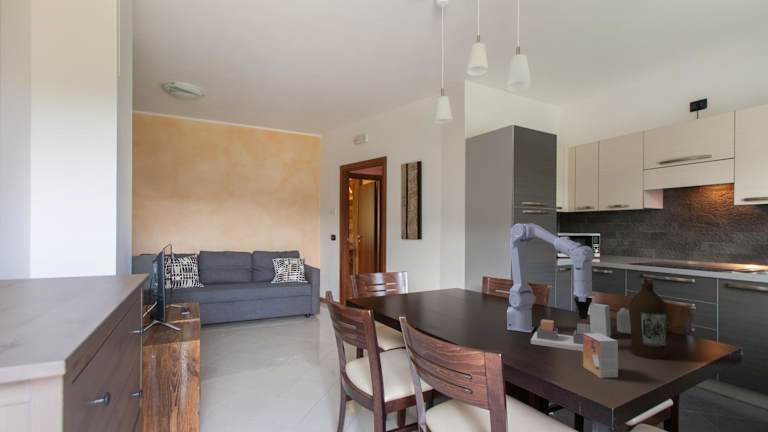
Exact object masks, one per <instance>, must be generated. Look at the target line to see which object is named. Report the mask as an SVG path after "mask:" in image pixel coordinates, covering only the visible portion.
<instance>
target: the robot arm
mask: <svg viewBox="0 0 768 432" xmlns="http://www.w3.org/2000/svg"><path fill="white" fill-rule="evenodd" d="M535 238H538V239H541V240H543V241H545V242H547V243H548V244H551V245H553V246H554V250H555V251H558V252H559V253H561V254H563V255H565V256H567V257H569V258H570V260H571V261H572V266H573V295H574V296H576V297H574V298H573V301H574V303H575V305H576V307H577V311H578V316H579V319H580V320H587V319H588V316H589V311H590V309H589V306H590V304H592V302H593V298H592V296H595V297H596V296H597V293H596V292H593V277H592V275H593V271H592V270H593V269H592V268H593V267H592V261H593V260H594V258H595V256H596V255H595V250H594V249H592V248H591V247H590V246H588V245H582V243H580V242H576V241H573V240H571V238H570V236H560V237H559V236H557V235H555V234H553V233H551V232H550V231H548V230H546V229H545V228H543V227H541V226H540V225H537V224H535V223H531V222H530V223H515V224H514V225H513V226H512V227H511V228H510V239H509V251H510V260H511V261H510V263H511V270H512V272H511V273H512V280H513V285H512V287H511V288H510V289H509V297H508V302H509V304H510V306H508V307H507V310H506V311H507V312H506V320H507V321H506V323H507V326H506V327H507V328H506V329H507V330H508V331H515V332H516V331H517V332H522V333H528V334H529V333H533V330H534V329H535V326H532V325H533V323H532V322H533V321H532V319H533V318H532V315H533V314H532V308H533V305H534V304H535V302H536V296H535V294H534V292H533V288H532V286H530V285H529V284H528V283H529V282H528V274H527V267H526V255H525V246H526V245H527V243H528V242H530V241H532V240H533V239H535Z"/></svg>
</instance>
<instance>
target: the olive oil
mask: <svg viewBox="0 0 768 432" xmlns="http://www.w3.org/2000/svg"><path fill="white" fill-rule="evenodd" d="M653 282H654V280H653V279H651V278H641V283H640V291H639V292H637V293H636V294H635V295H634V296H633V297H632V298H631V299H630V301H629V304H628V310H629V315H630V327H631V334H630V341H631V342H630V343H631V352H632V353H633V354H634V355H636V356H639V357H642V358H647V359H653V360H662V359H666V358H667V347H668V345H667V339H668V338H667V337H668V307H667V304H666V302H665V301H664V300H663V298H661V297H660V296H659V294H657V293H656V292H655V290H654V283H653Z"/></svg>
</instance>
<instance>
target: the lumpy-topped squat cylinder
mask: <svg viewBox="0 0 768 432" xmlns="http://www.w3.org/2000/svg"><path fill="white" fill-rule="evenodd" d="M616 331H617V332H619V333H623V334H629V335H631V327H630V315H629V309H627V308H625V307H622V308H621V307H620V309H619V311H617V312H616Z"/></svg>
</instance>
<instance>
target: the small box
mask: <svg viewBox="0 0 768 432" xmlns="http://www.w3.org/2000/svg"><path fill="white" fill-rule="evenodd" d="M618 344H619V342H618V340H617V339H613V338H611V337H607V336H605V335H603V334H601V333H583V351H582V360H583V361H582V365H583V367H582V368H584V369H586V370H587V371H589V372H590V373H592V374H594V375H595V376H597V377H598V378H599V379H602V378H603V379H605V378H618V377H619V352H618V351H619V350H618V347H619V346H618Z"/></svg>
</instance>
